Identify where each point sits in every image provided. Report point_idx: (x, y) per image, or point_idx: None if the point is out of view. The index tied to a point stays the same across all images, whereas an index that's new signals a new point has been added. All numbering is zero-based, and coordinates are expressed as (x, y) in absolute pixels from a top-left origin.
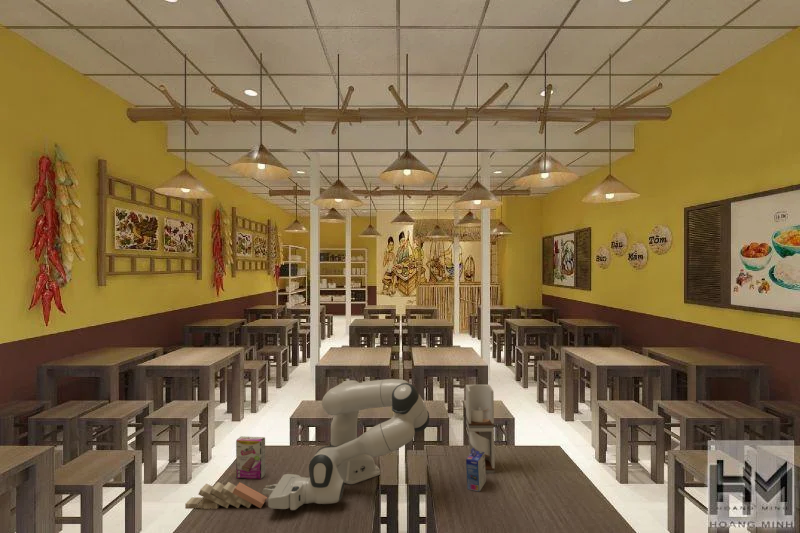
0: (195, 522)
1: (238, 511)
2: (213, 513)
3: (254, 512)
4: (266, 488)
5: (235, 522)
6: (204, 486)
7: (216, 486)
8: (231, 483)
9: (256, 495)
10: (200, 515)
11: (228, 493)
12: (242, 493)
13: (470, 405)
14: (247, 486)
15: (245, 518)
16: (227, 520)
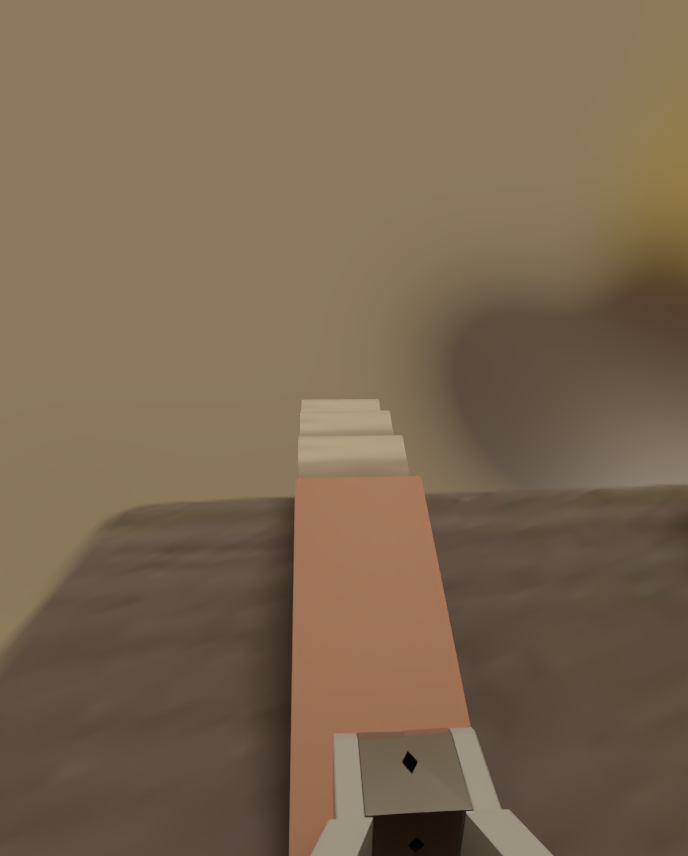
0: (147, 519)
1: (244, 671)
2: (238, 550)
3: (192, 848)
4: (366, 787)
5: (24, 721)
6: (344, 402)
7: (337, 422)
8: (405, 456)
9: (382, 710)
10: (224, 514)
11: None
12: (294, 563)
13: None
14: (434, 553)
15: (68, 791)
16: (100, 648)
